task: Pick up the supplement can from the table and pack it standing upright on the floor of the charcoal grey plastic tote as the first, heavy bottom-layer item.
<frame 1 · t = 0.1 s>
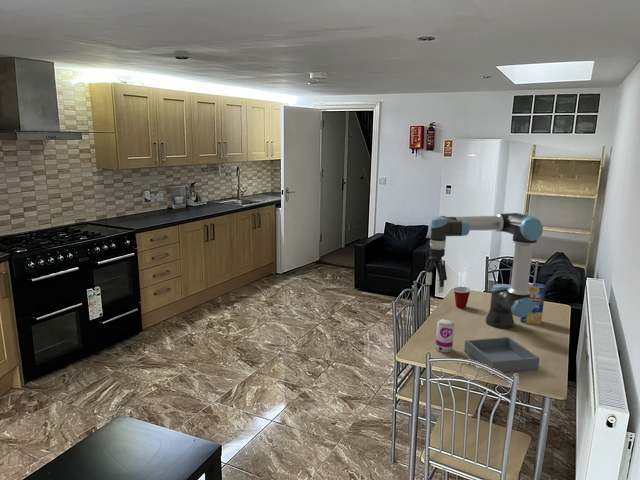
hand: (434, 288, 247), 28 cm above the table, tool pointing down, fingers open, 13 cm apart
beverage box: (530, 321, 281), on the table
supplement can: (443, 349, 241), on the table
plastic cup: (460, 307, 302), on the table
tote: (499, 360, 231), on the table
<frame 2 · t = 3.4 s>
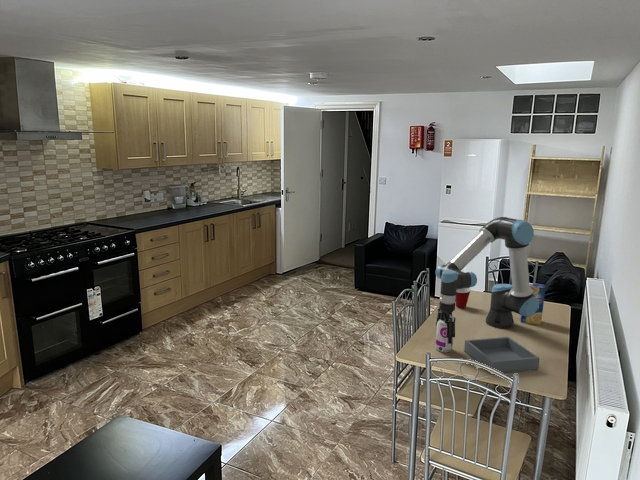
hand: (443, 345, 241), 2 cm above the table, tool pointing down, fingers closed on supplement can, 8 cm apart
supplement can: (443, 349, 241), on the table, touching gripper
everything else where it was.
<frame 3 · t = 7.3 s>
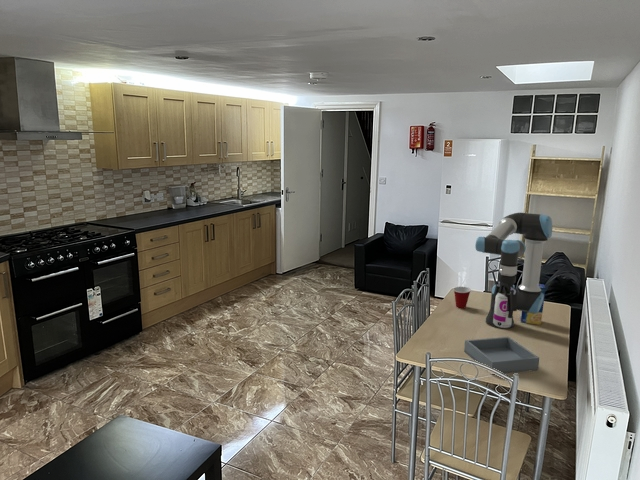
hand: (502, 320, 227), 20 cm above the table, tool pointing down, fingers closed on supplement can, 8 cm apart
supplement can: (502, 325, 227), point 18 cm above the table, touching gripper
everything else where it was.
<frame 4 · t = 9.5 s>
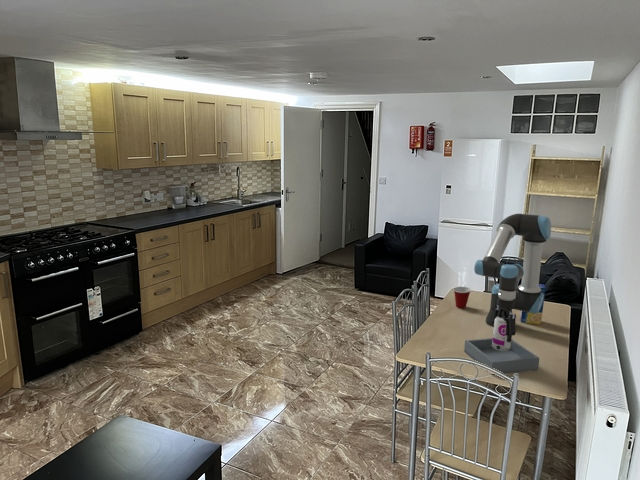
hand: (501, 343, 229), 9 cm above the table, tool pointing down, fingers closed on supplement can, 8 cm apart
supplement can: (500, 348, 229), point 6 cm above the table, touching gripper
everything else where it was.
when the fingers open (5 cm above the table, at t = 11.2 s): supplement can drops 1 cm, resting on tote.
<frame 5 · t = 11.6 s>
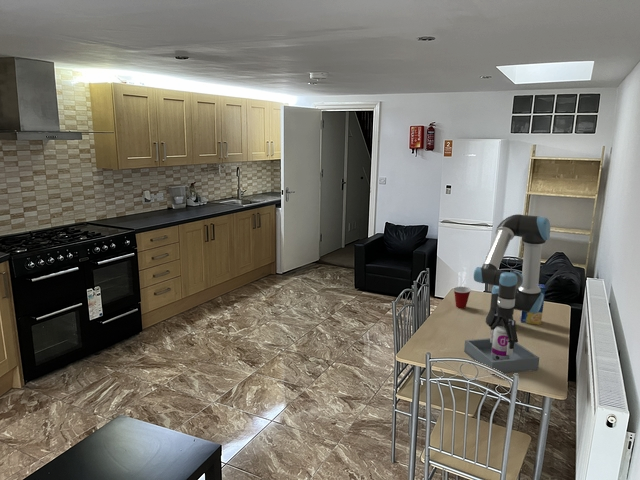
hand: (500, 348, 229), 6 cm above the table, tool pointing down, fingers open, 13 cm apart
supplement can: (499, 358, 230), point 1 cm above the table, touching tote
everything else where it was.
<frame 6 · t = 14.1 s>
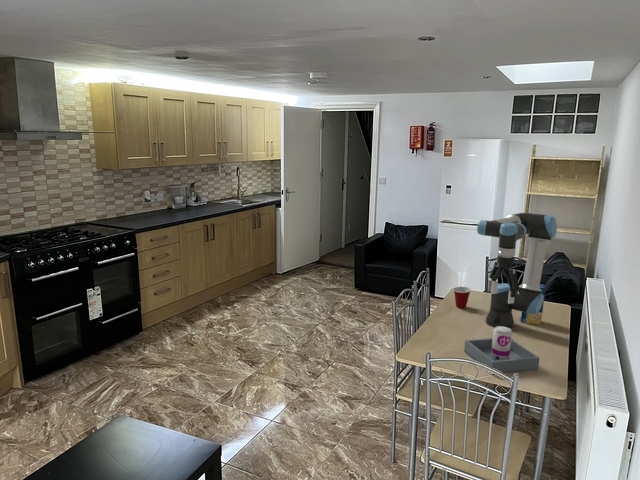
hand: (502, 298, 233), 28 cm above the table, tool pointing down, fingers open, 13 cm apart
nothing on the table moved.
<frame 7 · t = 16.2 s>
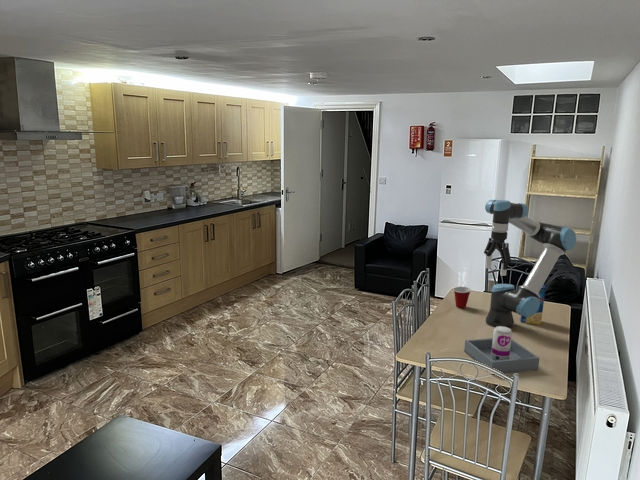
hand: (495, 271, 248), 37 cm above the table, tool pointing down, fingers open, 13 cm apart
nothing on the table moved.
at the end: supplement can inside the target area on the tote (0.1 cm from its centre), point 0.8 cm above the tote's base; supplement can tilted 0°; the gripper is holding nothing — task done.
